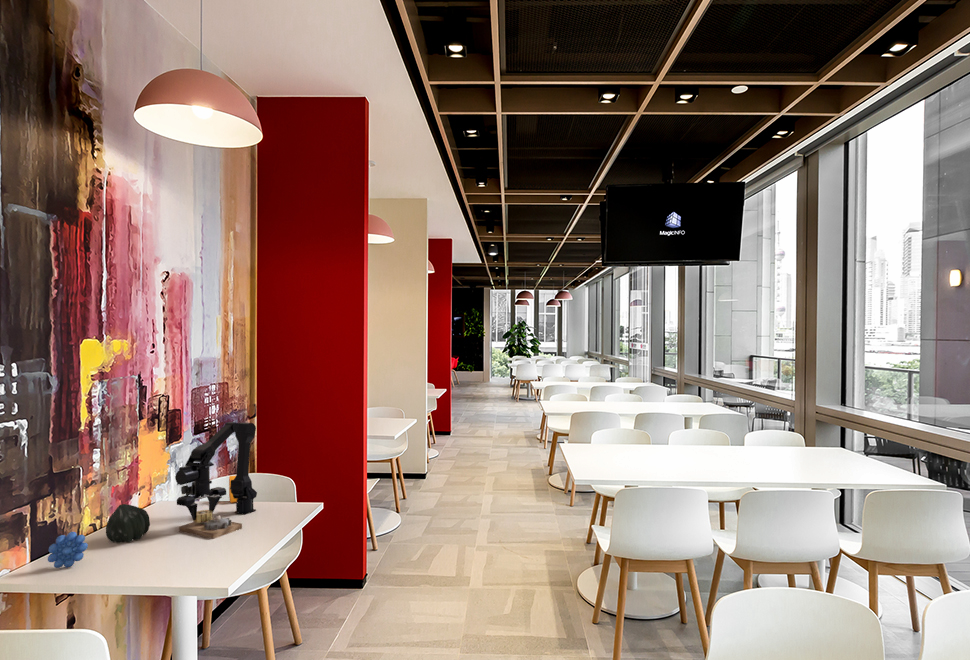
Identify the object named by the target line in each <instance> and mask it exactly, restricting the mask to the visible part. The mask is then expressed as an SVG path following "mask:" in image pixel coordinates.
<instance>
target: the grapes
mask: <svg viewBox="0 0 970 660" xmlns="http://www.w3.org/2000/svg"><path fill="white" fill-rule="evenodd" d="M77 534H78V533H77V532H76V531H70V532H68V533H67V534H66V535H65V534H62V535H58V536H57V537H56V539H55V543H52V544H50V545H49V547H48V552H49V553H50V554H49V555H48V556H47V562H48V563H53V567H54V568H55V569H60V568H62V567H64V568H67V569H68V567H70V568H71V567H72V566H74V564H75V562H80V561H81V560H82V559H83V558H84V555H85V554H84V552H85V551H86V550H87V549H88V547H89V546H88V544H89V543H87V542H85V540H86V536H85V535H84V534H79V535H77Z"/></svg>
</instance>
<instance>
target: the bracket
mask: <svg viewBox="0 0 970 660" xmlns="http://www.w3.org/2000/svg"><path fill="white" fill-rule="evenodd" d="M235 477H236V475H229V477H228V479H229V480H228V486H229V487H228V496H229V497H228V499H229V502H230V504H233V503H237V499H234V497H233V494H232V493H231V489H230V487H231V480H234V478H235Z"/></svg>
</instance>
